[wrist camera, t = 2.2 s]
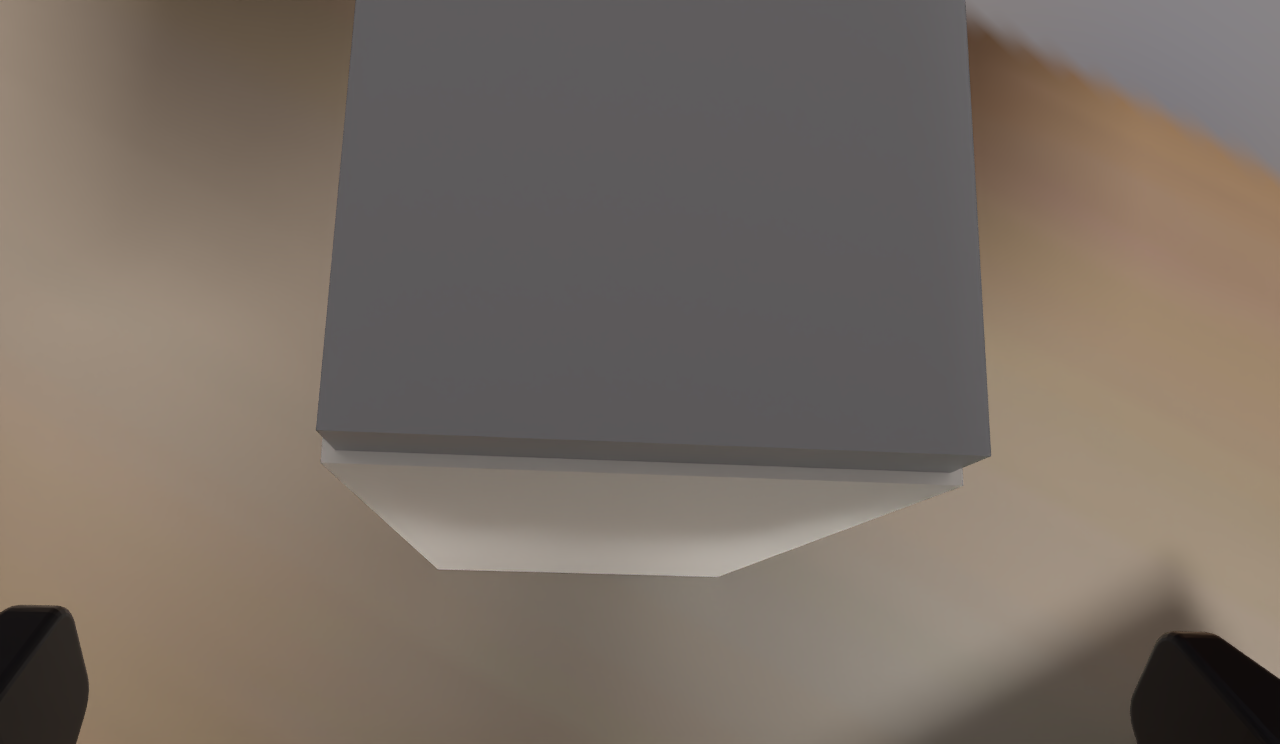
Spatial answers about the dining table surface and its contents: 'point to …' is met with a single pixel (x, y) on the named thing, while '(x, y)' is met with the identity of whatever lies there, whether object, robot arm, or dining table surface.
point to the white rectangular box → (652, 277)
